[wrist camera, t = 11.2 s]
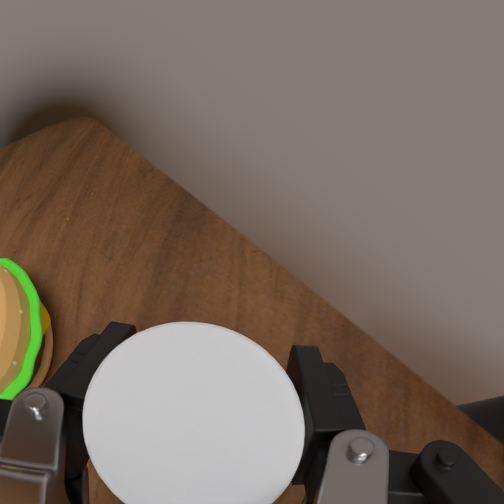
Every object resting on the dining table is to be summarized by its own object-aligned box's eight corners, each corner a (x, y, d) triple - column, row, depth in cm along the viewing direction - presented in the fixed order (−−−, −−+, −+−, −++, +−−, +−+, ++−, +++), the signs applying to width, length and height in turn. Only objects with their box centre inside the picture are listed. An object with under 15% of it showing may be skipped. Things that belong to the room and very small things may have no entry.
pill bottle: (273, 376, 13) (342, 322, 6) (256, 478, 11) (306, 556, 3) (166, 355, 13) (102, 274, 6) (145, 455, 11) (50, 497, 3)
